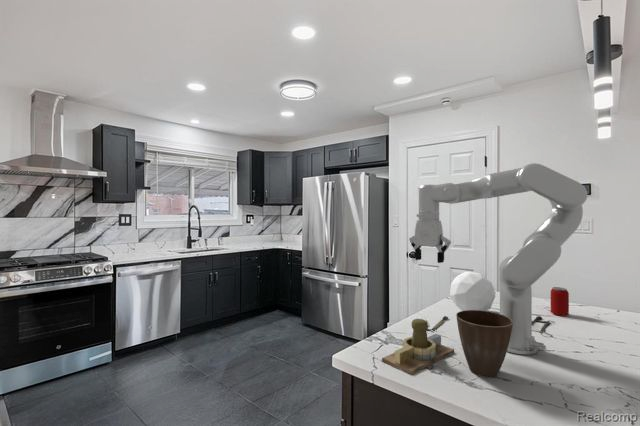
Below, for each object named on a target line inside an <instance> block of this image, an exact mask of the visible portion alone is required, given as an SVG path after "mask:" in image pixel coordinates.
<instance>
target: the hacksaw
mask: <svg viewBox="0 0 640 426" xmlns="http://www.w3.org/2000/svg"><path fill="white" fill-rule="evenodd" d="M551 322H552V323H555V321H553V320H551V321H550V320H543V317H542V316H540V315H538V316H536V317H535V318H534V319H533V320H532V326H533V325H534V324H535V323H542V324H543V323H544V324H543V325H542V327H541V328H540V331H539V330H533V329H532V332H536V333H540V334H543V333H544V334H546V335H547V336H550V338H553V337H554V336H553V334H550V333H547V332H546V328H547V327H548V326H549V325H550V324H551ZM547 336H545V335H543V337H546V338H547Z"/></svg>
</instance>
